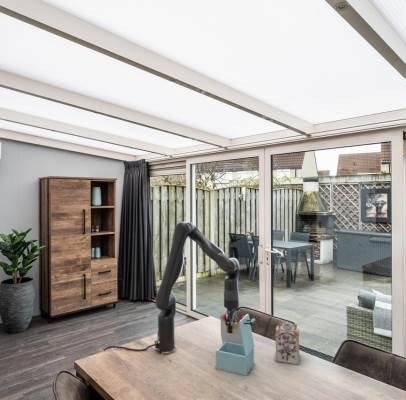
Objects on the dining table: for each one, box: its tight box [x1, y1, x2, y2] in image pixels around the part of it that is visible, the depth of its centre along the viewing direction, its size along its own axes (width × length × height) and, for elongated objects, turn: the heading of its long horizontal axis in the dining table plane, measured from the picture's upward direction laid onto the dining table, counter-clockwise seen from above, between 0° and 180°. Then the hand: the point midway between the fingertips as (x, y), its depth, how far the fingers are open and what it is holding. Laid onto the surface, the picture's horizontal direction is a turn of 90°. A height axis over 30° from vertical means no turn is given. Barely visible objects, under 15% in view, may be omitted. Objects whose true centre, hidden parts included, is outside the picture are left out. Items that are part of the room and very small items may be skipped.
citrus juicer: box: [219, 313, 246, 345], centre depth 190 cm, size 16×17×20 cm
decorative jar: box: [274, 322, 300, 365], centre depth 174 cm, size 12×12×18 cm
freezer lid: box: [239, 313, 257, 356], centre depth 162 cm, size 16×13×5 cm
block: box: [226, 322, 238, 334], centre depth 167 cm, size 4×4×4 cm
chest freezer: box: [215, 342, 255, 376], centre depth 166 cm, size 16×13×9 cm
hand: (231, 331), depth 167 cm, fingers closed on block, 4 cm apart
